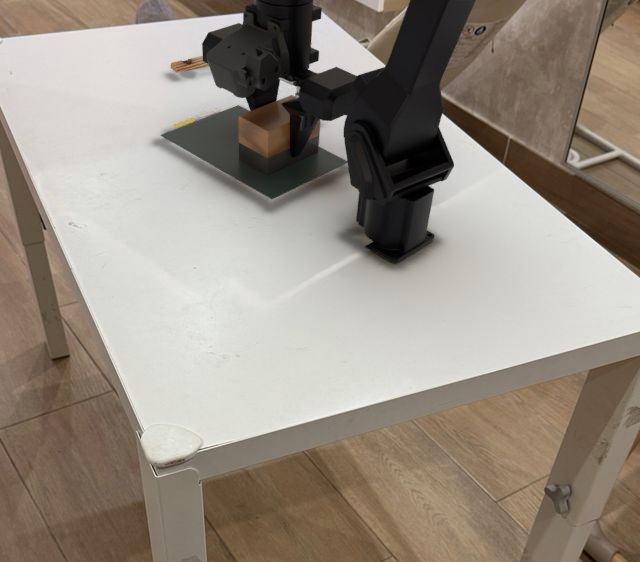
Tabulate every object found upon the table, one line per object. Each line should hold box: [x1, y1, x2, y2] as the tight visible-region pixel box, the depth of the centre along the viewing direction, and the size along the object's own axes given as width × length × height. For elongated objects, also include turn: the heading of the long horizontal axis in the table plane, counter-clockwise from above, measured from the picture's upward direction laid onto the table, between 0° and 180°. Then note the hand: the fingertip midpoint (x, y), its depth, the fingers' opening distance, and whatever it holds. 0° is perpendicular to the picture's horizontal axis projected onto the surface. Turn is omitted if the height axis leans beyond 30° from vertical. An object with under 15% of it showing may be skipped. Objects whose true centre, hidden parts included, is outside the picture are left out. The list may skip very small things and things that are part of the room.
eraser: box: [239, 94, 321, 175], centre depth 88 cm, size 4×8×5 cm, turn 137°
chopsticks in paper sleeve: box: [170, 42, 313, 73], centre depth 108 cm, size 4×3×20 cm
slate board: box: [160, 104, 348, 200], centre depth 91 cm, size 18×12×1 cm, turn 47°
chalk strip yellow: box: [171, 117, 197, 129], centre depth 95 cm, size 1×3×1 cm
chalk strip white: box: [198, 107, 222, 118], centre depth 97 cm, size 1×3×1 cm
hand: (279, 147), depth 90 cm, fingers closed on eraser, 4 cm apart
